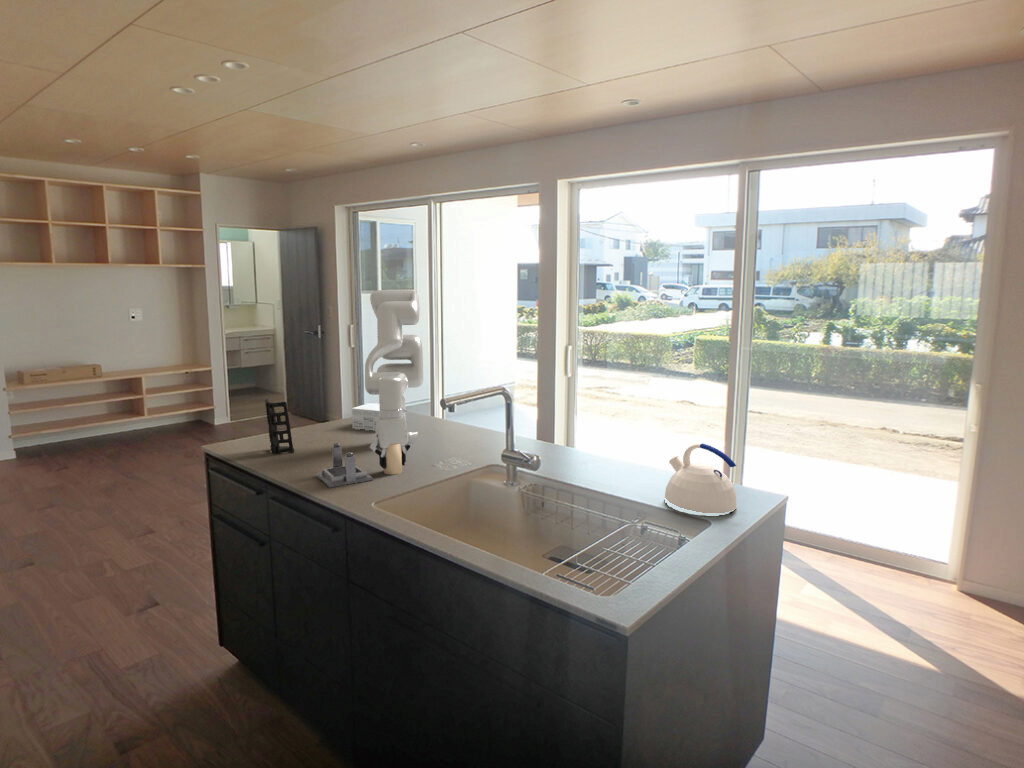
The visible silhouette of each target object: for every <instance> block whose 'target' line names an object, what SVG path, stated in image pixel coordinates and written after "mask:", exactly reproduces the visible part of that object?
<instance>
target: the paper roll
mask: <svg viewBox="0 0 1024 768" xmlns="http://www.w3.org/2000/svg"><path fill="white" fill-rule="evenodd" d="M385 457H386V469H383V473H384V475H385V474H386V475H389V476H390V475H399V474H401V473H402V472H403V465H402V448H401V443H400V444H393V445H389V446H388V448H387V449H386V452H385Z"/></svg>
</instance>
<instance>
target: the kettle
mask: <svg viewBox="0 0 1024 768" xmlns="http://www.w3.org/2000/svg"><path fill="white" fill-rule="evenodd" d="M695 449H696V450H697V449H703V450H705V451H708V452H711V453H713V454H715V455H716V456H718V457H719V458H720V459H722V460H723V461H724V462H725V463H726V464H727V465H728V467H730V468H734V467H737V465H736V463H735V462H734V461H733V460H732V459H731V458H730V456H728V455H727V454H726V453H724V452H723V451H721V450H719V449H718V448H716V447H714V446H712V445H709V444H705V443H694V444H691V445H690V446H688V447H687V449H686V450H685V451H684V453H683V457H682V460H681V459H680V457H679V455H675V456H673V457H672V458H671V459H670V460H669V462H668V464H669V465H671V466H672V468H673V469H674V471H675V472H674V474H673V475H672V476H671V477H670V479H668V482H667V484H666V487H665V492H664V498H666V499H667V500H668V501H669V502H670V503H672V504H674V505H676V506H678V507H680V508H684V509H687V510H692V511H696V512H702V513H725V512H729V511H732V510H734V509H735V508H736V506H737V492H736V490H735V487H734V485H733V483H732V481H731V480H730V478H729V477H728V476H727V475H726V474H725V473H724V472H722V471H721V470H720V469H719V468H717V467H715V466H713V465H709V464H705V463H695V464H693V463H691V459H690V458H691V454H692V452H693V451H694V450H695ZM736 509H737V508H736Z"/></svg>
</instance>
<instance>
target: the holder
mask: <svg viewBox="0 0 1024 768" xmlns="http://www.w3.org/2000/svg"><path fill="white" fill-rule="evenodd" d="M264 403H265V404H264V405H265V409H266V412H265V413H266V420H267V424H268V437H269V443H270V451H271V454H272V453H273V454H274V455H278V453H279V454H282V453H289V452H290V453H293V452H295V449H294V445H293V444H294V443H293V438H292V437H293V436H292V432H291V424H290V416H289V411H288V404H287V402H286V401H281V402H280V401H279V402H270V401H269V398H266V399H265V400H264ZM277 407H278V408H281V407H282V408H283V411H279V412H276V411H275V408H277ZM282 416H284V418H285V420H282V418H281V417H282ZM278 426H285V427H286V429H284V430H278ZM284 434H287V438H286V439H285V438H284ZM281 444H288V446H287V445H286V446H284V445H283V446H282V445H281Z"/></svg>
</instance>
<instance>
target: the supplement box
mask: <svg viewBox="0 0 1024 768" xmlns="http://www.w3.org/2000/svg"><path fill="white" fill-rule="evenodd" d="M351 417H352V419H351V420H352V424H351V425H352V429H353V428H355V429H354V430H360V429H365V430H364V431H369V430H373V431H372V432H376V423H377V418H379V417H380V406H379V403H375V402H374V403H373V402H372V403H371V402H368V403H365V404H361V405H359V406H355V407H352V408H351Z"/></svg>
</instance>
